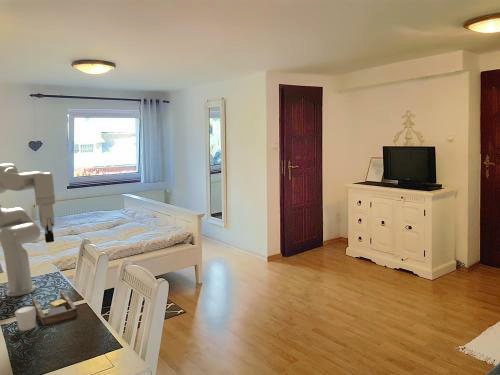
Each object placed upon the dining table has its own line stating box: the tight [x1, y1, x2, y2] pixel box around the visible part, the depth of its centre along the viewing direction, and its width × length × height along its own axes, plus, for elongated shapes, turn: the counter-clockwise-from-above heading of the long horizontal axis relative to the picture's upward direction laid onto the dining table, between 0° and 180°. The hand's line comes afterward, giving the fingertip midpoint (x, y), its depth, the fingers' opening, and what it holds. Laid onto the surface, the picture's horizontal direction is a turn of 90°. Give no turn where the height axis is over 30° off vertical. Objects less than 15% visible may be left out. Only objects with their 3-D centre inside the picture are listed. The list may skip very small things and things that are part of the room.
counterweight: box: [47, 306, 67, 315], centre depth 161 cm, size 6×6×3 cm
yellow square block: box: [49, 298, 68, 310], centre depth 169 cm, size 5×5×3 cm
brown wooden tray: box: [31, 289, 78, 326], centre depth 168 cm, size 26×12×3 cm, turn 36°
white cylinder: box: [14, 305, 37, 332], centre depth 153 cm, size 7×7×7 cm
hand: (49, 241), depth 178 cm, fingers closed
